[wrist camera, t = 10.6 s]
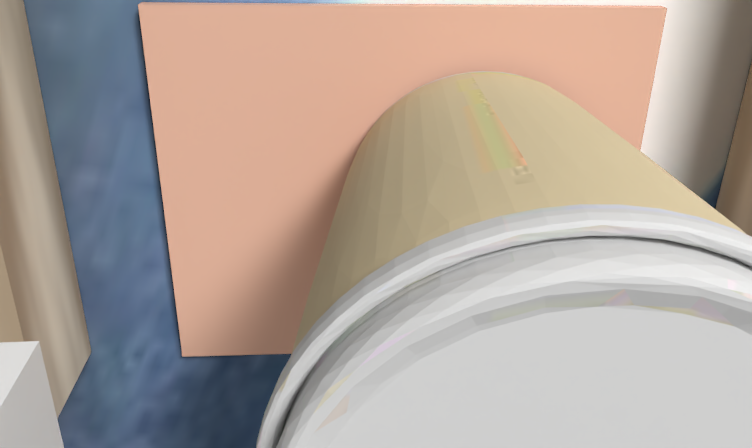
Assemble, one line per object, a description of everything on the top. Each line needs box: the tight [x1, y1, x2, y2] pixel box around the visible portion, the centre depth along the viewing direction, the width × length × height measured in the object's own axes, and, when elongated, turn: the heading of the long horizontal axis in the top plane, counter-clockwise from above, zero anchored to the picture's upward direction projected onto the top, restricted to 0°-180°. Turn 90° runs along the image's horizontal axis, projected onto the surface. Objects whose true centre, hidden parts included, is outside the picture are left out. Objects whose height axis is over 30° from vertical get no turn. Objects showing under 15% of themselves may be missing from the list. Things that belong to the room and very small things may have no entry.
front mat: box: [138, 2, 667, 357], centre depth 21 cm, size 14×11×1 cm
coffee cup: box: [256, 71, 752, 448], centre depth 15 cm, size 9×9×12 cm
